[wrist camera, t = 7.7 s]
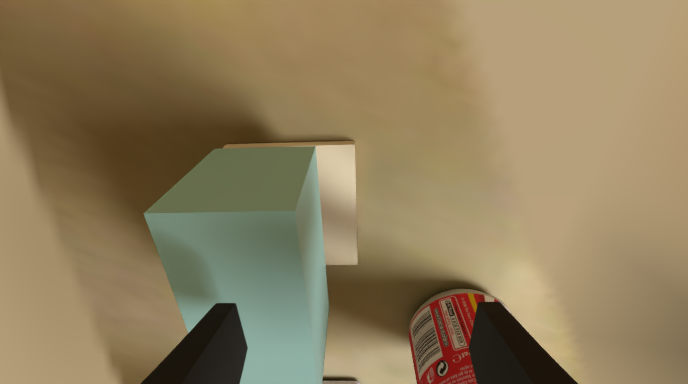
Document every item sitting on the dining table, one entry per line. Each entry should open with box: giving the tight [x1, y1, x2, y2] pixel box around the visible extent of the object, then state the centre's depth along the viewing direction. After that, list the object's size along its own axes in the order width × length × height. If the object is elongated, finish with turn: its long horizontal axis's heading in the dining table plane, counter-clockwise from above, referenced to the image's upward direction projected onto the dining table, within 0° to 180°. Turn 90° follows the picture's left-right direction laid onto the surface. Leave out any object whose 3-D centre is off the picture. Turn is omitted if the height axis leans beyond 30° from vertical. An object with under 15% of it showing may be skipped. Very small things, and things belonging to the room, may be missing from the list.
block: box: [143, 146, 329, 384], centre depth 15 cm, size 10×5×6 cm, turn 2°
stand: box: [223, 141, 358, 265], centre depth 18 cm, size 8×7×3 cm
